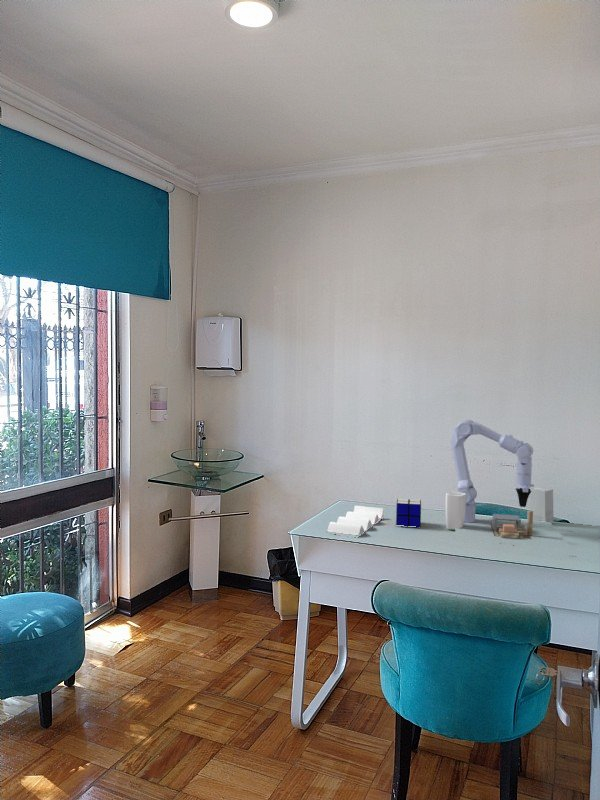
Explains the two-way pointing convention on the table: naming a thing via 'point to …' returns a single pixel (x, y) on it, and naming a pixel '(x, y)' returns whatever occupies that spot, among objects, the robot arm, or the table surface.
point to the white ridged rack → (356, 520)
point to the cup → (455, 509)
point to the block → (508, 528)
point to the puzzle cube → (408, 512)
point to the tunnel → (506, 518)
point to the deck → (515, 529)
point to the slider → (516, 534)
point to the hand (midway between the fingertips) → (522, 506)
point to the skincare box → (541, 504)
